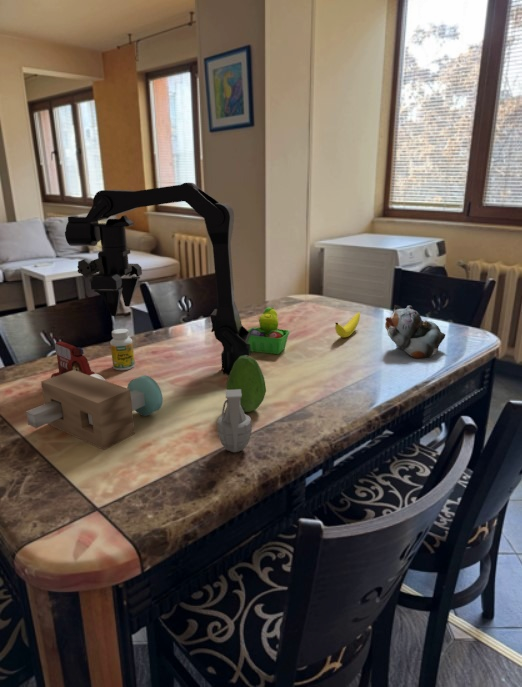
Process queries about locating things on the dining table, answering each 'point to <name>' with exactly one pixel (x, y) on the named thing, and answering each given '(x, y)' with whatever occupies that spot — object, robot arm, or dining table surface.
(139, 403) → the teal knob
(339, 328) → the banana
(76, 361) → the toy fire truck
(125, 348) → the supplement bottle
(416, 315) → the lucky cat figurine
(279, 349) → the fruit basket
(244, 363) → the avocado
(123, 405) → the walnut mount
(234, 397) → the hand grenade
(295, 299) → the dining table surface
